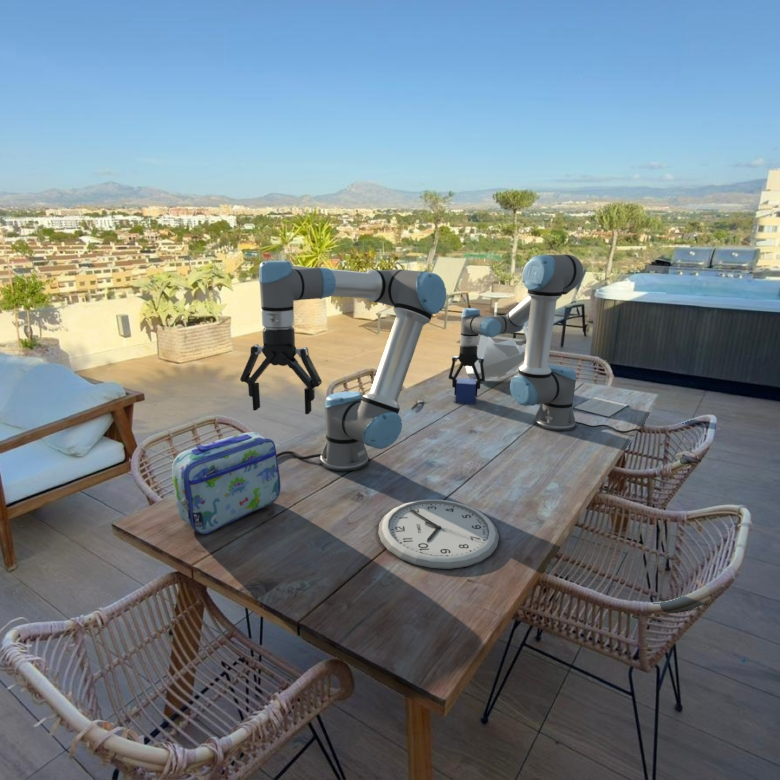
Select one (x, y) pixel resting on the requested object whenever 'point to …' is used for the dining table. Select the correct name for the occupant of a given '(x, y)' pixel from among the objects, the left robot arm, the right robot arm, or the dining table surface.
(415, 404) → the fork
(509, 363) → the white plastic object
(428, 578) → the dining table surface
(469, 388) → the block
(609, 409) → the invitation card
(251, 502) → the lunch box
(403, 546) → the wall clock
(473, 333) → the right robot arm
